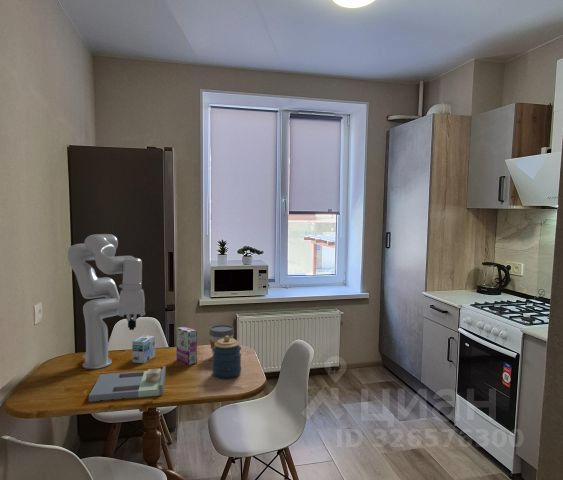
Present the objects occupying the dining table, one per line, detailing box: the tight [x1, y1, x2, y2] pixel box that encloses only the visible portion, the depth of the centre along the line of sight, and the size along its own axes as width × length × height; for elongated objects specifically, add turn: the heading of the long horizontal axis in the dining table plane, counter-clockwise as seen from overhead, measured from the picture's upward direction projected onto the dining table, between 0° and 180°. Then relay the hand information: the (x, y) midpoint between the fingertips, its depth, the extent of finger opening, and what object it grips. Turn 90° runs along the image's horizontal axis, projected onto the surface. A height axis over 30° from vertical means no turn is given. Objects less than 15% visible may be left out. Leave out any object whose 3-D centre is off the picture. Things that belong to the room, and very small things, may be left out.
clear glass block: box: [146, 368, 162, 383], centre depth 163 cm, size 5×5×4 cm
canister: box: [211, 336, 242, 380], centre depth 176 cm, size 13×13×18 cm
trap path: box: [88, 365, 167, 402], centre depth 162 cm, size 27×20×4 cm
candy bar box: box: [176, 326, 198, 366], centre depth 191 cm, size 11×5×16 cm, turn 47°
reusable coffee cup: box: [208, 324, 235, 355], centre depth 197 cm, size 12×13×15 cm
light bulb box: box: [131, 334, 156, 364], centre depth 193 cm, size 11×7×11 cm, turn 168°
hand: (132, 329), depth 166 cm, fingers closed
